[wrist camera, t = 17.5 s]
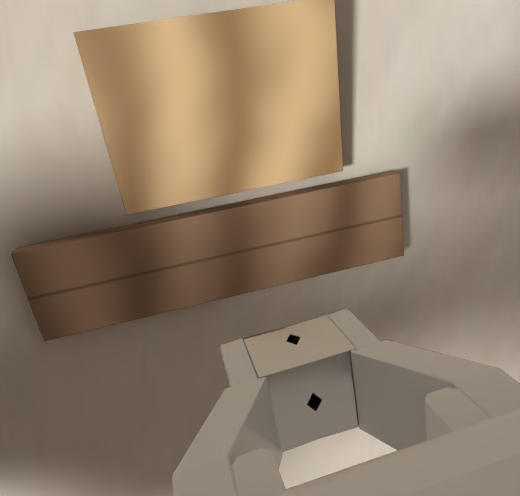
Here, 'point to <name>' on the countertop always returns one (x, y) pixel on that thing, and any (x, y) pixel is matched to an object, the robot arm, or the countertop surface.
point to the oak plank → (217, 101)
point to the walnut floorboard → (210, 254)
